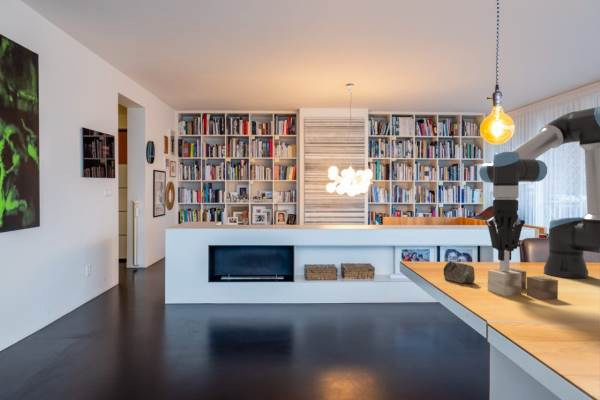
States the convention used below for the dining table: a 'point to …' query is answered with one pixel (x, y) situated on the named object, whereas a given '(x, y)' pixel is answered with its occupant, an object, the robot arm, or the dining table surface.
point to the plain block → (504, 282)
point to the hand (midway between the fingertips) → (504, 270)
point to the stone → (459, 272)
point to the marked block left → (542, 288)
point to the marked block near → (523, 281)
